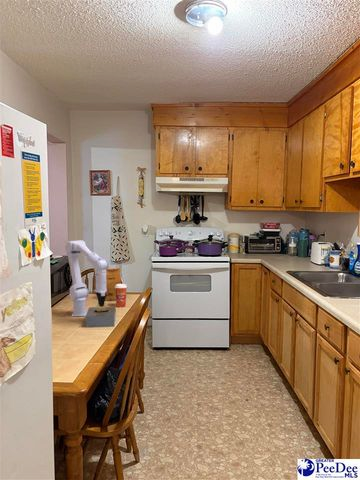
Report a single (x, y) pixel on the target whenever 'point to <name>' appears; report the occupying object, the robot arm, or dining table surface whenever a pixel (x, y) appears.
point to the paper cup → (121, 295)
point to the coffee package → (112, 283)
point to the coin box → (100, 317)
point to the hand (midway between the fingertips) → (101, 305)
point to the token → (101, 307)
